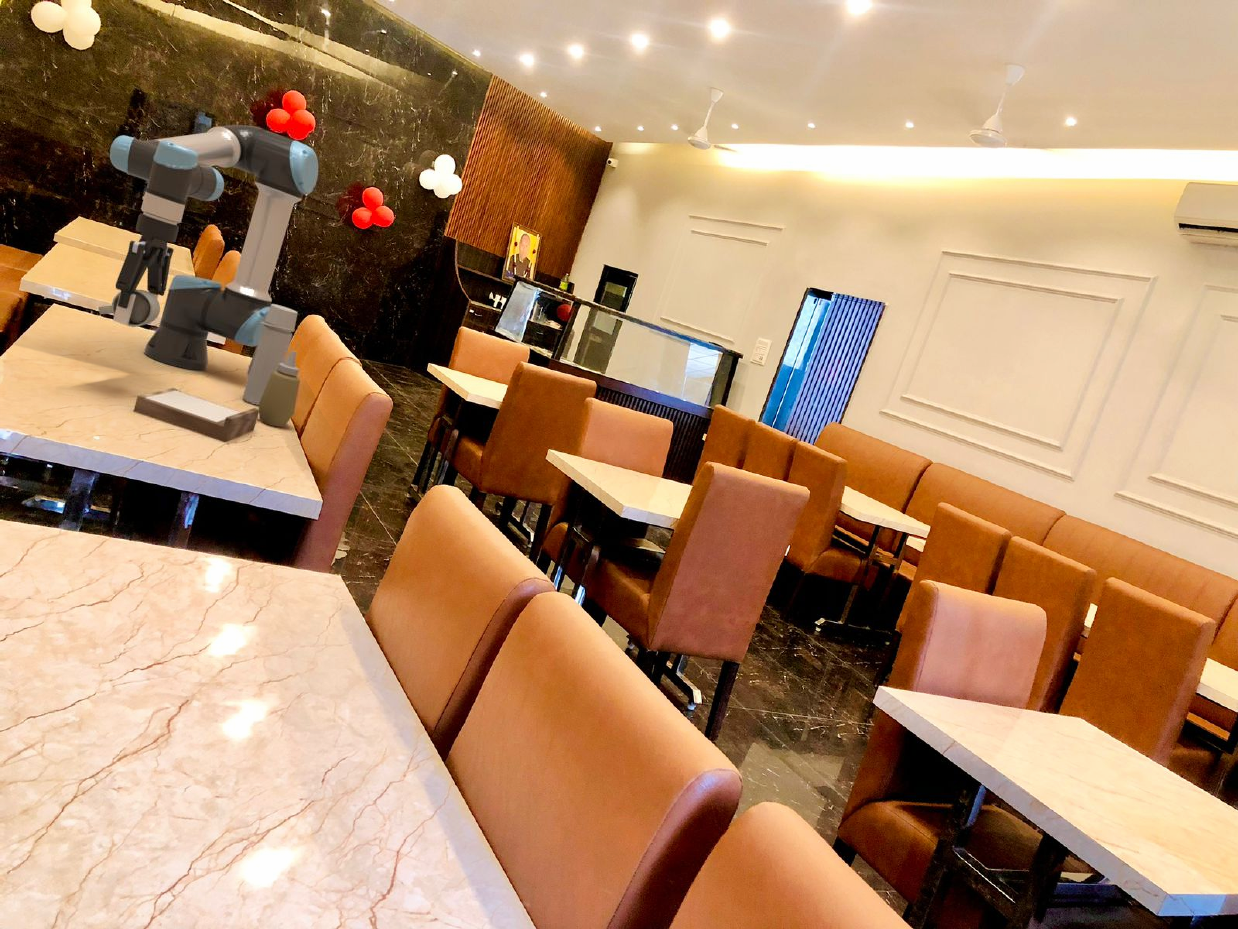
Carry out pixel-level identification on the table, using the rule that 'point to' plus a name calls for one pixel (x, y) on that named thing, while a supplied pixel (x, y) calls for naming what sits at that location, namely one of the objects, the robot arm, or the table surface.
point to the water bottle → (269, 350)
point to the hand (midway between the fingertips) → (132, 322)
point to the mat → (193, 405)
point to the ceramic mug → (137, 308)
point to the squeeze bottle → (280, 394)
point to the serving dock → (198, 419)
